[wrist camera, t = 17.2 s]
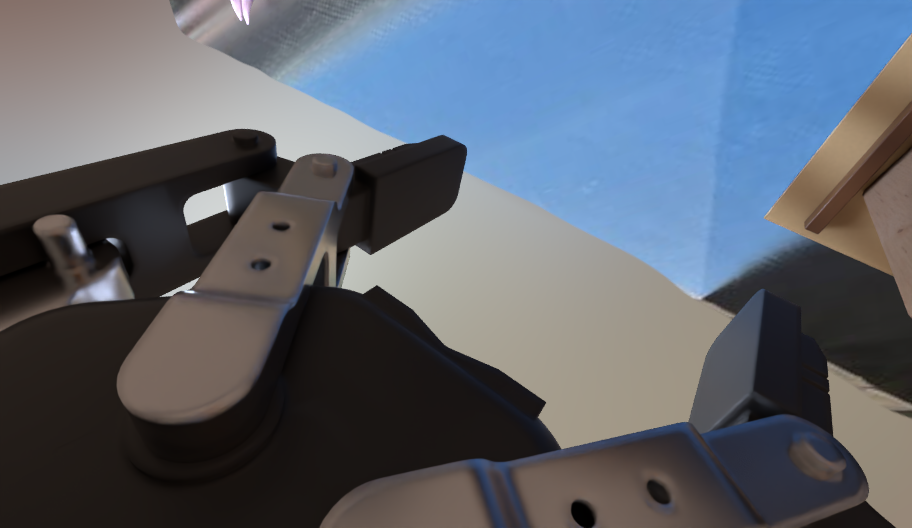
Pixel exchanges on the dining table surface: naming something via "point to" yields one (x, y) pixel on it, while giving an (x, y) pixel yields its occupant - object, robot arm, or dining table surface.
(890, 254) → the wooden block
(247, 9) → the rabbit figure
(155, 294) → the robot arm
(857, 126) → the guide
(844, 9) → the dining table surface
